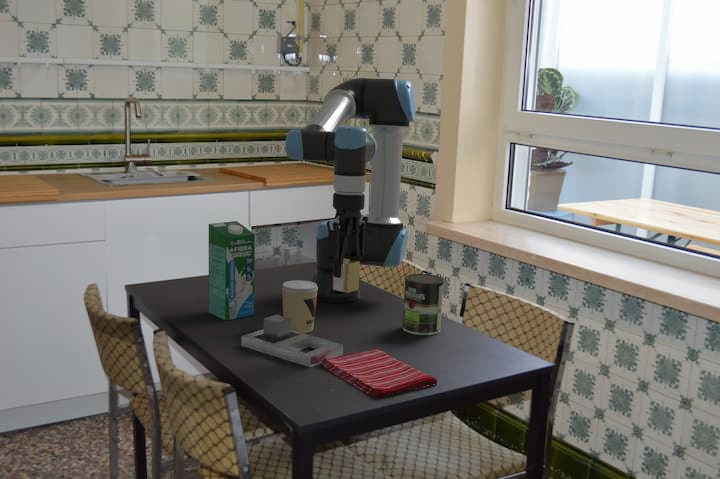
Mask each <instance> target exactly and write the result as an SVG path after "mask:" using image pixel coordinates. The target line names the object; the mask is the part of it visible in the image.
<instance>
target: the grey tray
mask: <svg viewBox="0 0 720 479" xmlns="http://www.w3.org/2000/svg"><path fill="white" fill-rule="evenodd" d="M241 347H243V348H247V349H250V350H253V351H257V352H260V353H263V354H267V355H270V356H272V357H276V358H279V359H282V360H285V361H288V362H292V363H295V364H298V365H301V366H305V367H307V368H313V367H315V366H318V365H320V363H322V359H323V358H336V357H341V356H344V344H343V343H342V344H341V343H339V342H335V341H331V340H328V339H325V338H321V337H317V336H314V335H311V334H307V333H301V332H297V331H294V330H290V338H289V339H286V340H283V341H280V342H277V343H270V342H267V341H264V328H263V329H259V330H256V331H253V332H250V333H246V334H244V335H241ZM308 348H311V349H314V350H311V351H308V352H303V351H302V350H304V349H308Z"/></svg>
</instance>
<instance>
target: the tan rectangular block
mask: <svg viewBox="0 0 720 479" xmlns="http://www.w3.org/2000/svg"><path fill="white" fill-rule="evenodd" d="M343 264H345V288H344V291H341V292H346V293H349V292H352V291H356V290H359V289H360V266H361V265H360V261H355V260H350V259H344V261H343ZM333 270H334V266H333ZM333 273H334V272H333ZM333 290H334V276H333ZM337 291H338V290H337Z"/></svg>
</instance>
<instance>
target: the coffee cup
mask: <svg viewBox="0 0 720 479" xmlns="http://www.w3.org/2000/svg"><path fill="white" fill-rule="evenodd" d="M281 290H282V291H281V292H282V293H281V294H282V311H283V312H282V313H283V314H282V315H283V317H287V318H290V330H294V331H297V332H301V333H304V334H307V333H311V332H312V331H313V330H314V328H315V320H316V319H315V316H316V307H317V300H316V299H317V290H318V287H317V284H316V283H314V282H312V281H311V280H310V281H309V280H304V279H303V280H301V279H300V280H299V279H297V280H296V279H295V280H294V279H293V280H287V281H285V282H283V283H282V286H281Z"/></svg>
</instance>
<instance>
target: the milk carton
mask: <svg viewBox="0 0 720 479" xmlns="http://www.w3.org/2000/svg"><path fill="white" fill-rule="evenodd" d="M255 239H256V234H255V233H254V232H252V231H251V230H250V229H248V228H247V227H246V226H244V225H243V224H242V223H240V222H238V220H233V221H227V222H226V221H225V222H223V221H222V222H213V223H208V313H209V314H211V315H213V316H215V317H217V318H219V319H222V320H223V321H227V322H228V321H229V320H230V321H231V320H235V319H241V318H246V317H251V316H255V314H254V313H255V254H256V247H255V246H256V240H255Z"/></svg>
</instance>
